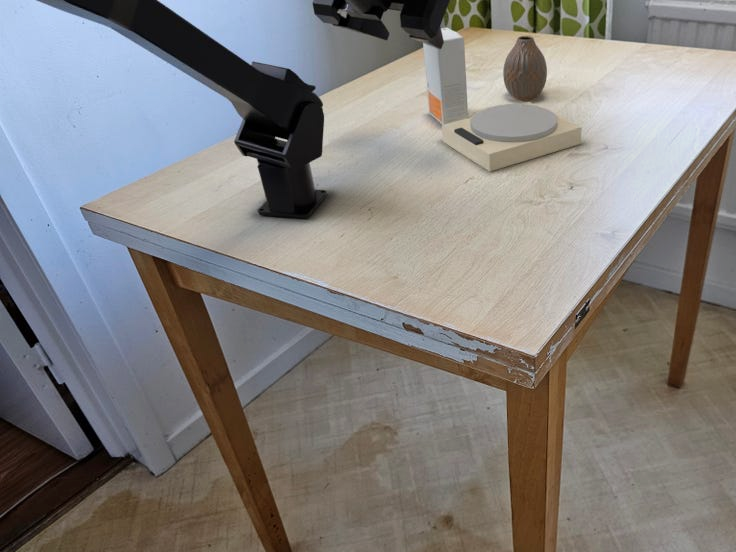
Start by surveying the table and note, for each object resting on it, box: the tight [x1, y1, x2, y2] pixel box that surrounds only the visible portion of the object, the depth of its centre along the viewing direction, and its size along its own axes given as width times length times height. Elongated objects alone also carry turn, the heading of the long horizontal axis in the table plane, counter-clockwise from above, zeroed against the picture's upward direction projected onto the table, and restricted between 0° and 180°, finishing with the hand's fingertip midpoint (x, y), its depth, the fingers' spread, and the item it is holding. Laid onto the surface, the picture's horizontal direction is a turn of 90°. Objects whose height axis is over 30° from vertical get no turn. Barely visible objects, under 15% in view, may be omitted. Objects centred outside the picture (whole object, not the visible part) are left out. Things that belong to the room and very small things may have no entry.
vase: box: [502, 35, 548, 101], centre depth 105 cm, size 7×7×9 cm
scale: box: [441, 101, 583, 173], centre depth 92 cm, size 15×12×3 cm
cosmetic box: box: [422, 27, 469, 126], centre depth 97 cm, size 6×4×12 cm
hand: (413, 41), depth 89 cm, fingers open, 9 cm apart
